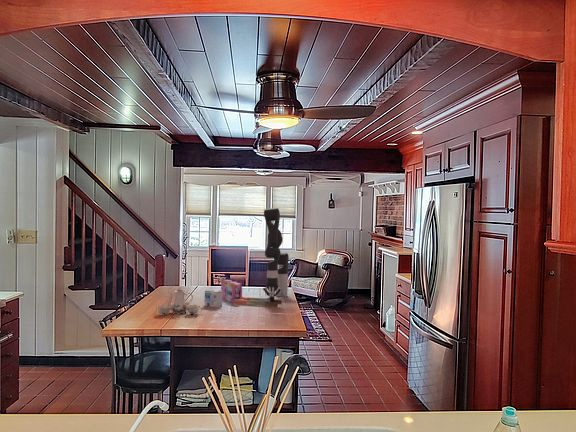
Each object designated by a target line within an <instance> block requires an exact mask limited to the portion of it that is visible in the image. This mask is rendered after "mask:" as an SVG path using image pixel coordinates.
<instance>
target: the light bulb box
mask: <svg viewBox="0 0 576 432" xmlns="http://www.w3.org/2000/svg"><path fill="white" fill-rule="evenodd" d="M222 293H223V291H222V290H221V289H213V288H209V289H208V288H207V289H205V290H204V306H205V307H212V308H219V307H222V306H223V298H222Z"/></svg>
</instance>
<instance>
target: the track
mask: <svg viewBox="0 0 576 432" xmlns="http://www.w3.org/2000/svg"><path fill="white" fill-rule="evenodd" d="M250 298H251V301H250V300H247V304H246V305H245V306H247V307H248V306H249V307H260V308H261V307H263V308H274V309H275V308H276V309H277V308H279V307H281V306H282V305H283V301H282V300H283V299H275V298H274V301H273V302H271V301H270V302H264V301H259V298H260V297H250ZM233 306H234V307H241V306H242V305H241V304H235V303H234V304H233Z"/></svg>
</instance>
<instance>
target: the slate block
mask: <svg viewBox="0 0 576 432" xmlns="http://www.w3.org/2000/svg"><path fill="white" fill-rule="evenodd" d="M258 298H259V301H264V302H270V296H260V297H258Z"/></svg>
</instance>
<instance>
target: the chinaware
mask: <svg viewBox="0 0 576 432" xmlns="http://www.w3.org/2000/svg"><path fill="white" fill-rule="evenodd" d="M168 294H169V296H168V300H167V305H165V304H162V305H157V308H156V309H155V311H156V312H155V313H157V314H159V315H166V316H167V315H168V314H169V313H170V311H171V312H172V314H174V313H183V314H186V313H187V312H188V313H189V314H199V309H201V311H200V312H202V311H203V307H201V305H198V304H192V305H191V303H190V302H192V301H193V299H194V296H193V294H192V293H191V292H186V291H185V290H183V289H182V288H181V287H178V289H177V290H175V291H174V294H175V295H174V301H173V302H172V298H173V294H172V292H171V291H168ZM188 294H189V295H190V296H191V299H190V300H189V301H185V300H186V299H185V296H187V295H188ZM157 310H158V311H157ZM185 312H186V313H185Z"/></svg>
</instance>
